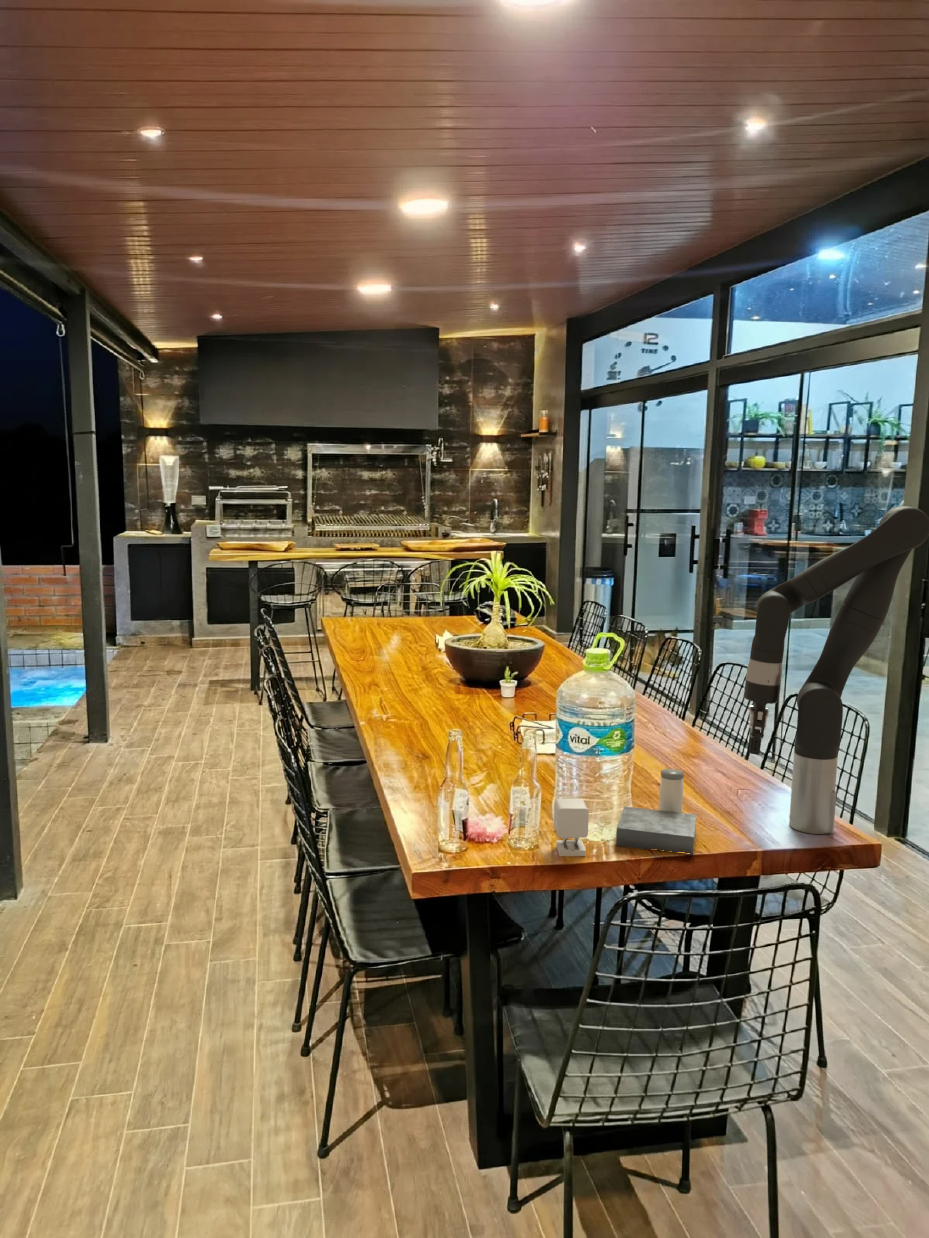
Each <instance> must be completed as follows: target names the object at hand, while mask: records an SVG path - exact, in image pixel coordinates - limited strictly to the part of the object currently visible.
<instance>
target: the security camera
mask: <svg viewBox="0 0 929 1238" xmlns="http://www.w3.org/2000/svg"><path fill="white" fill-rule="evenodd" d="M553 808H554V811H553V813H554V814H553V825H554V828H555V831H556V834H557V837H559V838H561V839H563V840H560V839H559V840H558V839H557V840H556V845H555V847H556V850H557V852H558V855H559V857H586V855H587V850H586V847H585V845H584V843H583V840H580V839H581V838H582V839H584V838H587V837H588V834H589V819H590V817H589V816H590V815H589V813H590V812H589V809H588V807H587V805H586V802H585V800H584V799H582V798H556V799H555V800H554V806H553ZM568 839H571V840H568ZM573 839H574V840H573Z"/></svg>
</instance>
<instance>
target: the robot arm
mask: <svg viewBox="0 0 929 1238" xmlns="http://www.w3.org/2000/svg"><path fill="white" fill-rule="evenodd" d="M928 538H929V516H928V515H927V513H925V512H924V511H923V510H921V509H919V508H918V507H915V506H907V505H901V506H894V507H892V508H890V509H889V510H888V511H886V512H885V513H884V514H883V515H882V517H881V519H880V520H879V523H878V526H877V527H876V528H874V529H873V530H872V531H871V532H870V533H868V534H867V535H865V536H864V537H863V538H861V539H860V540H858V541H856V542H854V543H852V544H851V545H849V546H847V547H845V548H843V549H840V550H839V551H836V552H834V553H832V554H831V555H830V554H829V556H826V557H825V558H823V559H820V560H819V561H817V562H815V563H814V564H812V565H810V566H809V567H807V568H806V569H804V570H802V572H799V573H798V574H796V575H795V576H794V577H792V578H791V579H789V580H786V581H785V582H783V583H781V584H778V585H777V586H775V587H773V588H770V590H768V591H766V592H764V593H763V594H762V595H761V596H760V597H758V600H757V601H756V605H755V606H756V619H755V630H754V636H753V639H752V641H751V647H750V655H749V660H748V664H747V669H746V677H745V682H744V690H743V698H744V699H745V700H748V701H750V702H752V705H750V706H749V719H748V720H749V728H750V731H749V738H748V744H749V750H748V751H749V754H750V755H756V756H759V755H760V753H761V747H762V740H763V739H764V738H765V734H764V733H765V732H764V731H765V730H766V728H767V721H768V718H769V713H770V712H769V708H768V707H766V706H767V705H768V704H770V705H773V704H777V703H778V702H779V697H780V690H781V684H782V683H781V682H782V677H783V661H784V652H785V639H786V636H787V633H788V632H787V631H788V626H789V622H790V617H791V614H792V613H793V612H795V611H797V610H798V609H800V608H801V607H803V606H805V605H808V604H809V605H810V604H812V603H814V602H816V601H818V600H820V599H822V598H823V597H825V596H827V595H828V594H831V592H833V591H835V590H836V589H838V588H840V587H841V586H843V585H844V584H846V583H848V582H850V581H851V580H852V579H854V578H855V579H854V581H853V582H852V584H851V586H850V588H849V589H848V591H847V594H846V595H845V598H844V599H843V601H842V603H841V605H840V608H839V609H838V612H837V613H836V616H835V617H834V620H833V622H832V625H831V628H830V630H829V633H828V634H827V637H826V640H825V643H824V645H823V649H822V651H821V653H820V656H819V659H818V660H817V662H816V664H815V665H814V667H813V669H812V670H811V672H810V674H809V675H808V677H807V679H806V680H805V682H803V685H802V686H801V688H800V689H799V691H798V692H797V693H798V694H797V696H796V706H797V718H796V719H797V721H796V732H795V733H796V735H795V739H794V750H793V761H792V762H793V763H792V778H791V791H790V792H791V793H790V803H789V804H790V805H789V806H790V808H789V817H788V818H789V820H788V822H789V823H788V825H789V826H790V827H791V828H792V829H793V830H796V831H798V832H802V833H806V834H813V835H825V834H834V831H835V830H834V829H835V821H836V820H835V818H836V817H835V816H836V805H837V791H836V787H837V774H838V773H837V772H838V770H837V769H838V757H839V750H840V745H841V737H842V736H841V735H842V730H843V729H842V727H843V717H844V704H843V701H842V696H843V695H842V694H843V691H844V689H845V686H846V684H847V682H848V679H849V677H850V674H851V672H852V671H853V669H854V667H855V666H856V664H857V663H858V662H859V661H860V659H861V658H862V657H863V656H864V654H865V653H866V652H867V651H868V649H869V648H870V647H871V645H872V644H873V642H874V641H875V639H876V638H877V636H878V634H879V631H880V630H881V628H882V625H883V624H884V621H885V619H886V617H887V615H888V612H889V609H890V607H891V603H892V599H893V596H894V592H895V588H896V583H897V580H898V577H899V575H900V572H901V570H902V568H903V566H904V564H905V563H906V561H907V559H908V557H909V555H910V554H911V552H912V551H913V549H917V548H918V547H920V546H921V545H923V544H924V543H925V542H926V541H927V539H928Z"/></svg>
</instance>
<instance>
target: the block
mask: <svg viewBox="0 0 929 1238" xmlns="http://www.w3.org/2000/svg"><path fill="white" fill-rule="evenodd" d="M696 831H697V814H696V813H686V812H682V813H679V812H670V811H661V810H659V809H649V808H640V807H634V806H633V807H631V806H623V807H622V812H621V814H620V817H619V821H618V824H617V826H616V838H615V847H623V848H629V847H631V849H637V848H639V849H638V850H646V849H657V850H664V851H672V852H685V853H690V854H693V855H694V850H693V849H694V848H695V841H696V840H695V839H696ZM694 840H695V841H694Z"/></svg>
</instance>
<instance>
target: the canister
mask: <svg viewBox="0 0 929 1238" xmlns="http://www.w3.org/2000/svg"><path fill="white" fill-rule="evenodd" d="M684 776H685V773H684V771H683V770H680V769H676V768H664V769H662V770H660V780H659V781H660V784H659V786H660V787H659V805H658V810H661V811H670V812H679V813H683V804H684V803H683V801H684V797H683V796H684V782H685V781H684V780H685V777H684Z"/></svg>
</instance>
